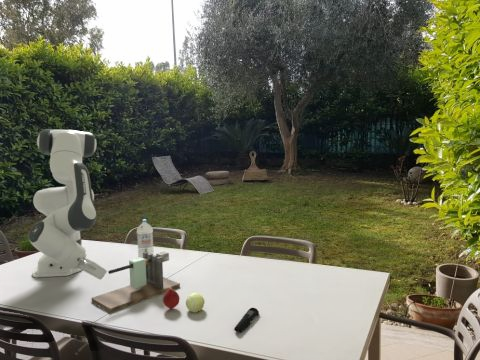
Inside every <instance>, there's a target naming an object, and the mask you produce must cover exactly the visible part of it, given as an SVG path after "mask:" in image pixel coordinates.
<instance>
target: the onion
mask: <svg viewBox="0 0 480 360" xmlns="http://www.w3.org/2000/svg"><path fill="white" fill-rule="evenodd" d="M180 299H181V298H180V295H179V293H178V292H177V290H176V289H172V288H171V287H170V288H169V290H168V291H167V292H165V293H163V297H162V303H163V304H164V306H165V307H166V308H167V309H169V310H174V308H176V307H177V306H178V305H179V303H180Z"/></svg>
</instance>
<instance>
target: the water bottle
mask: <svg viewBox="0 0 480 360" xmlns="http://www.w3.org/2000/svg"><path fill="white" fill-rule="evenodd" d="M141 221H142V223H141V224H140V225H138V227H137V228H136V234H137V237H136V238H137V258H140V257H141V258H143V253H144V252H148V254H150V253H151V254H153V255H155V253H154V251H155V250H154V237H153V236H154V235H153V233H154V229H153V227H152V225H151V224H149V223H147V221H148V220H147V219H145V218H144V219H142V220H141Z"/></svg>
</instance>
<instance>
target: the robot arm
mask: <svg viewBox="0 0 480 360" xmlns="http://www.w3.org/2000/svg"><path fill="white" fill-rule="evenodd" d="M37 136H38V137H37V140H36V144H37V147H38V148H37V149H38V151H39V152H40V153H41V154H43V155H47V156H50V161H49V167H50V168H49V169H50V172H51V173H52V177H53V179H54V180H55V181H56V182H57V183H59V184H62V185H65V186H56V187H48V188H43V189H40V190H37V191H36V192H35V193H34V196H33V200H32V202H33V203H32V204H33V205H34V208H35V209H36V210H37V211H38V212H39V213H41V214H43V215H44V216H46V217H45V218H43V219H42V220H38V221H36V222H35V223H34V224H33V225H32V226H31V229H30V230H29V232H28V235H27V236H28V237H27V238H28V241H29V242H30V244H31V245H32V246H33V247H34V248H35V249H36V250H38V251H39V252H40V253H42V254H43V255H41V257H40V258H39V259H38V261H37V267H35V268H34V269H33V270H32V272H31V273H32V274H31V276H32V277H33V278H47V277H50V278H51V277H66V276H67V277H68V276H71V275H73V274H75V273H78V272H81V271H83V272H84V273H86V274H89V275H90V276H92V277H94V278H96V279H98V280H101V281H102V279H103V278H104V277H105V275H106V274H107V270H106V269H105V268H104V267H102V266H101V265H100V264H98V263H96V262H95V261H93V260H92V259H90V258H87V253H86V252H87V251H86V248H85V247H84V246H83V242H82V238H81V231H85V230H89V229H91V228H93V227H94V226H95V224H96V221H97V218H98V212H97V209H96V206H95V203H94V200H95V194H94V190H93V189H92V183H91V177H90V173H89V172H90V171H89V169H88V168H87V165H85V164H84V163H83V158H88V157H92V156H93V155H94V153H95V152H96V150H97V139H96V138H95V137H96V136H95V135H94V134H93V133H91V132H88V131H80V130H74V129H51V128H46V129H42V130H41V131H40V132H39V134H38V135H37Z"/></svg>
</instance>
